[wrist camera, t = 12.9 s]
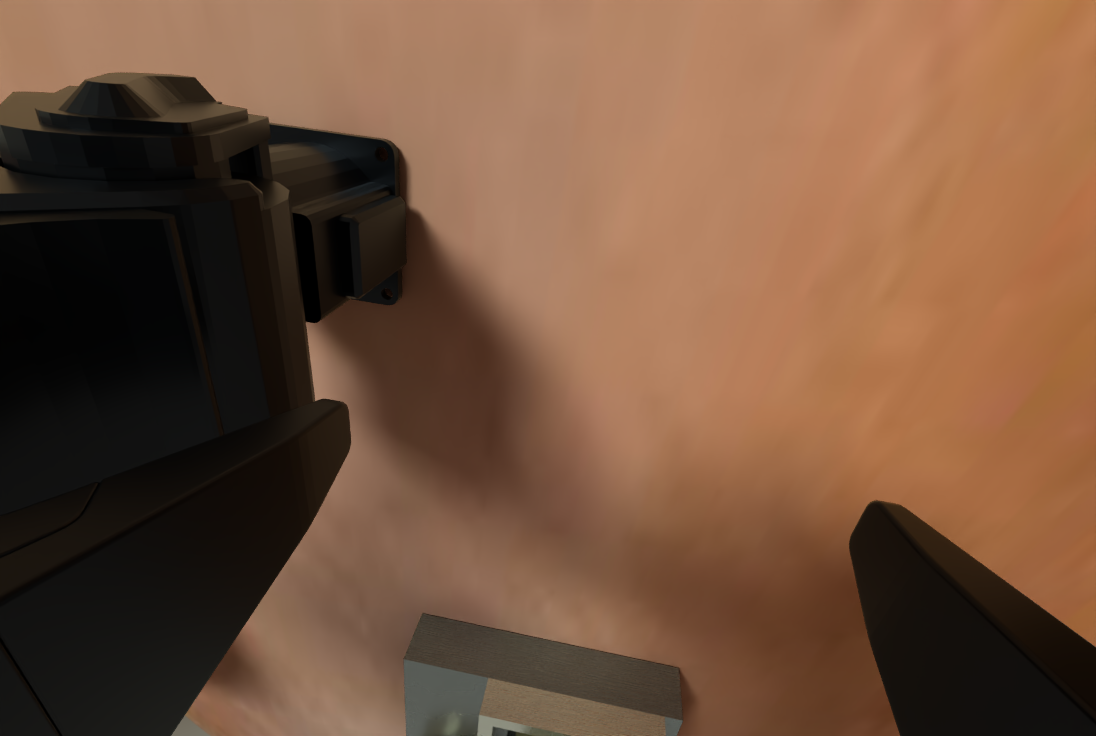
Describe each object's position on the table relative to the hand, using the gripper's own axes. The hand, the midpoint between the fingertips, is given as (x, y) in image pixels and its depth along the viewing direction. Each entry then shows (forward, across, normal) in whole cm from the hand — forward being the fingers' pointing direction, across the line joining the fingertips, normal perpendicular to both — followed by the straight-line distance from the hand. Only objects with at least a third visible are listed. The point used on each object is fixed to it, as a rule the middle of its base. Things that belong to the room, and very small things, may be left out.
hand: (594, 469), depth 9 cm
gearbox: (+13, 0, +31) cm, 34 cm away
